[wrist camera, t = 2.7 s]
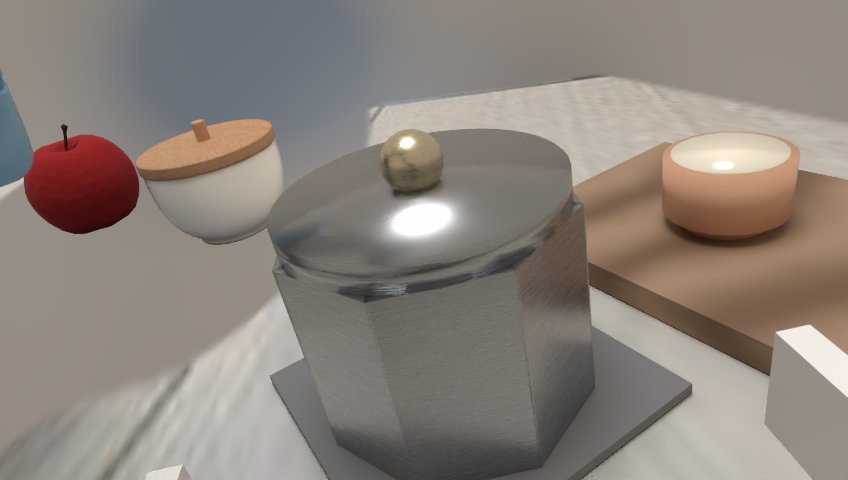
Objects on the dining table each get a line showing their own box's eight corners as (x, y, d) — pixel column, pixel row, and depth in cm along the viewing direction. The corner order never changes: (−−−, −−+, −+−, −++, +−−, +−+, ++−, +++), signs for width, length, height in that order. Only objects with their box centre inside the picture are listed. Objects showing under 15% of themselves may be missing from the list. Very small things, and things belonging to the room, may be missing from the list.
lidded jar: (229, 199, 54) (192, 105, 50) (322, 198, 50) (291, 94, 46) (146, 257, 46) (93, 150, 41) (250, 262, 42) (203, 143, 37)
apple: (131, 197, 61) (88, 107, 56) (167, 210, 55) (123, 111, 50) (40, 236, 55) (-15, 140, 51) (70, 255, 49) (10, 148, 45)
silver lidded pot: (331, 515, 21) (214, 235, 15) (340, 331, 31) (272, 122, 25) (631, 450, 21) (625, 146, 15) (542, 287, 31) (519, 68, 25)
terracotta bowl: (637, 224, 33) (637, 159, 31) (707, 185, 35) (710, 123, 33) (743, 262, 28) (751, 187, 26) (815, 214, 30) (827, 142, 28)
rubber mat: (272, 383, 29) (269, 375, 29) (486, 270, 34) (485, 264, 34) (407, 611, 18) (403, 603, 18) (691, 392, 23) (692, 383, 23)
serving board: (504, 241, 37) (501, 221, 36) (664, 160, 43) (665, 142, 43) (837, 409, 21) (844, 380, 21) (1015, 243, 27) (1025, 216, 27)
